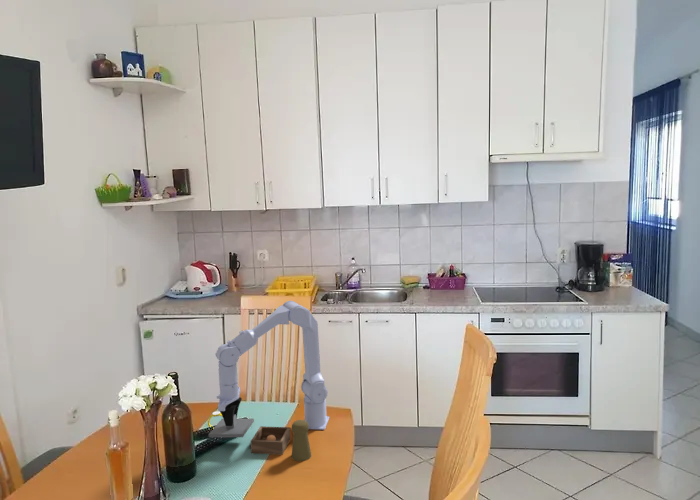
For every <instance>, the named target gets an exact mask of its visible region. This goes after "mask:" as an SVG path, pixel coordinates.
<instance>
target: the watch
mask: <svg viewBox="0 0 700 500" xmlns="http://www.w3.org/2000/svg"><path fill="white" fill-rule="evenodd" d="M213 417H215V418H216V417H222V418H223V416H222V414H221V412H220V411H218V410H217V411H213V412H212V414H210V415H209V417H208V420H207V426H208V427H211V426H212V425H211V423H210V420H211V418H213Z"/></svg>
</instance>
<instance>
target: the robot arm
mask: <svg viewBox="0 0 700 500" xmlns="http://www.w3.org/2000/svg"><path fill="white" fill-rule="evenodd" d="M290 322H291V323H292V324H293V325H295V326H296V325H297V326H299V327H300V328H301V330H302V344H303V358H304V359H303V362H304V373H303V375H302V382H301V385H300V389H301V391H302V393H303V394H304V397H303V407H304V420H305V421H307V423H308V425H309V429H308V430H321V431H322V430H323V431H324V430H326V427H327V425H328V422H329V419H330V416H328V415H327V397H328V388H327V387H326V385H325V380H324V377H323V375H322V373H321V361H320V360H321V359H320V340H319V338H320V337H319V327H318V325H319V324H318V321H317V320H316V318H315V317H314V315H313V314H312V313H311V311H310V309H308V308H307V307H305V306H303V305H301V304H299V303H297V302H296V301H294V300H287V301H286V302H284V303H283V304H282V305H279V306H278V307H277V308H276V309H275V310H274V311H273V312H272V313H271V314H270V315H268V316H267V317H265V318H264V319H263V320H261V322H260V323H258V324H257V325H256V326H255V327H253V328H252V329H245V330H241V331H239V334H238V335H236V336H235V337H234V338H233V339H231V340H228V341H227V342H226V343H225V344H221V345H220V346H219V347H218V348H217V350H216V352H215V357H216V359H217V360H218V382H219V383H218V385H219V394H217V395H216V399H218V404H217V411H219V412H220V413H221V414H222V416H223V417H222V416H221V417H222V419H224V422H225V425H226V426H232V425H233V418H234V414H236V419H238V411H239V408H240V405H241V402H242V397H241V396H240V394H241V387H240V386H239V381H238V380H239V379H238V366H237V363H238V361H239V358H240V357H241V356H242V355H244V354H245V353H246V352H248V351H249V350H251V349H252V348H253V347H255V346H256V345H257V343H258V340H259V338H260V337H262V336H264V335H265V334H267V333H268V332H269V331H271V330H273V329H274V328H275V327H277V326H279V325H290Z"/></svg>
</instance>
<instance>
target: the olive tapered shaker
mask: <svg viewBox="0 0 700 500" xmlns="http://www.w3.org/2000/svg"><path fill="white" fill-rule="evenodd" d="M309 430H310V429H309V425H308V423H307V421H305V419H298V420H295V421H294V422H292V424H291V431H292V433H293V434H292V435H293V438H292V449H291V459H292V460H293V461H297V462H304V461H308V460H310V459H311V457H312V452H311V451H312V449H311V444H310V441H309V433H308V432H309Z"/></svg>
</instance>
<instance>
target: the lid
mask: <svg viewBox="0 0 700 500" xmlns="http://www.w3.org/2000/svg"><path fill="white" fill-rule="evenodd" d="M254 422H255V419H254V418H237V419H236V414H234V418H233V425H232V426H226V425H225V422H224V419H223V418H221V419H219V421H218V423H216V425H215V426H213V430H212V429H211V431H210V432H209V433H208V438H243V437H244V436H245V435H246V433H247V432H248V430H249V429H250V427H251V426H253V424H254Z"/></svg>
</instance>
